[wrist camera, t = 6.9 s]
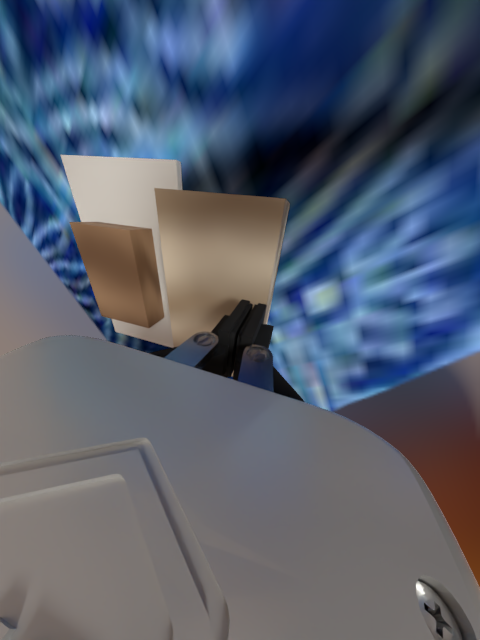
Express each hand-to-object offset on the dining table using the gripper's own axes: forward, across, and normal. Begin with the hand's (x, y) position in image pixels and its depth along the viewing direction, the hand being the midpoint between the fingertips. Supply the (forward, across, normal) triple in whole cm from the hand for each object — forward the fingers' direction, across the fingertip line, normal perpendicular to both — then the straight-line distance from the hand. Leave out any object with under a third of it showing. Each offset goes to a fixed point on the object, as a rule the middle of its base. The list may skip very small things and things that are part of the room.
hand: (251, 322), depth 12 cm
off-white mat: (+5, +13, 0) cm, 14 cm away
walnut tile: (+2, +14, 0) cm, 14 cm away
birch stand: (+5, +3, 0) cm, 6 cm away
